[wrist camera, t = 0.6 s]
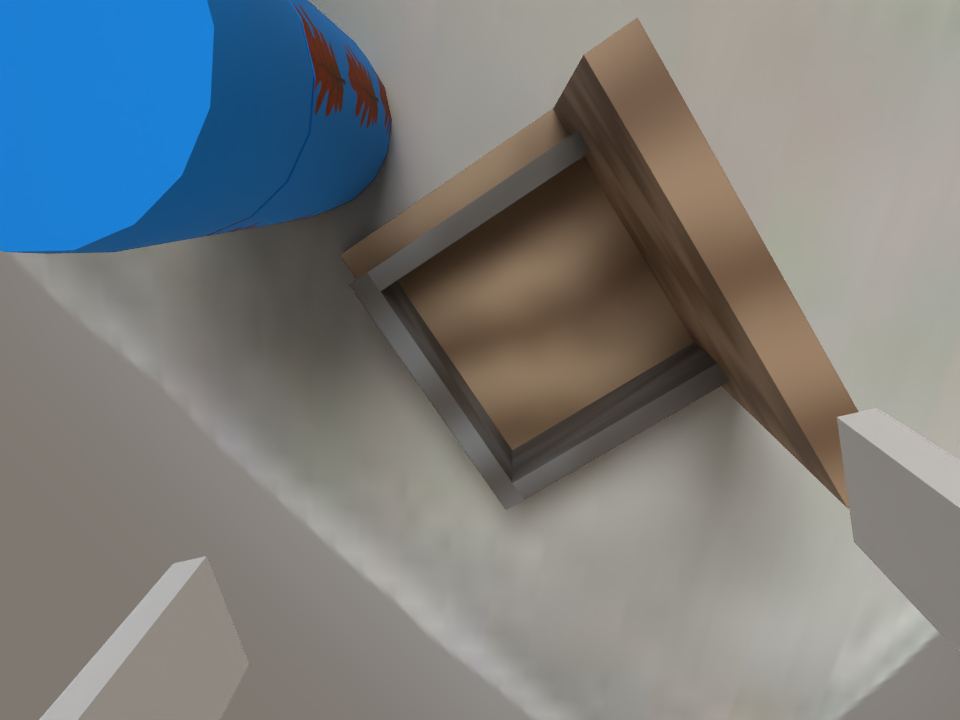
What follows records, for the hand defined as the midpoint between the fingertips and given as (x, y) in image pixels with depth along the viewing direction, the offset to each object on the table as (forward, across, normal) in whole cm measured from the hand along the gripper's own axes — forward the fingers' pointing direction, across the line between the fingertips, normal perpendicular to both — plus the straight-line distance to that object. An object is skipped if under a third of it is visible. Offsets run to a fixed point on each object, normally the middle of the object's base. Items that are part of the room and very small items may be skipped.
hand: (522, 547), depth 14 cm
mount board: (+30, +2, -1) cm, 30 cm away
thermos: (+30, -9, +13) cm, 34 cm away
